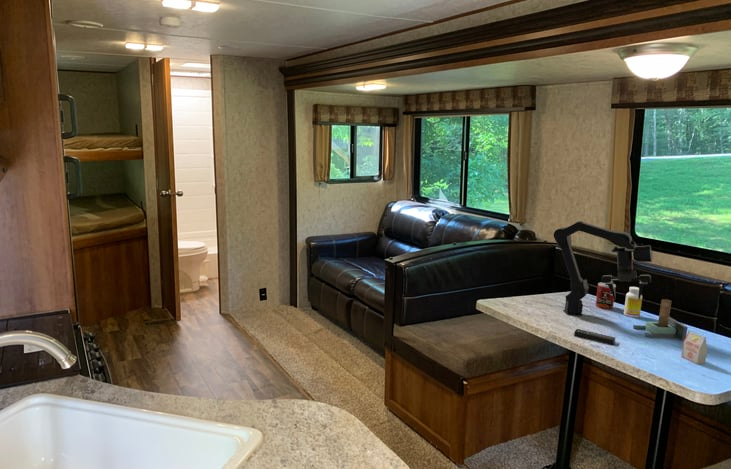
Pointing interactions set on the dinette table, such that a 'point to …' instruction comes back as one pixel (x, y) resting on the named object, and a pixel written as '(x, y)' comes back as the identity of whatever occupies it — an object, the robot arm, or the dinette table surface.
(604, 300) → the canned food
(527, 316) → the dinette table surface
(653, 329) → the sliding socket block
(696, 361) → the gable top carton
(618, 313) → the dinette table surface
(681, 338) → the rail and backstop frame
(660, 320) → the walnut dowel
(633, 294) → the supplement bottle
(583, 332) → the multiport hub
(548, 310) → the dinette table surface
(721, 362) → the dinette table surface
